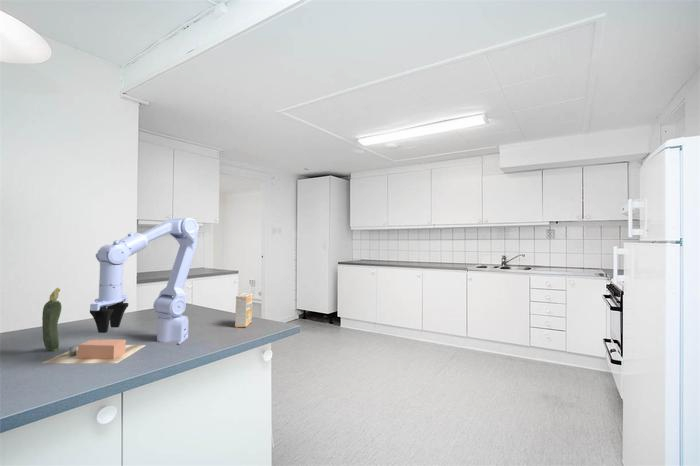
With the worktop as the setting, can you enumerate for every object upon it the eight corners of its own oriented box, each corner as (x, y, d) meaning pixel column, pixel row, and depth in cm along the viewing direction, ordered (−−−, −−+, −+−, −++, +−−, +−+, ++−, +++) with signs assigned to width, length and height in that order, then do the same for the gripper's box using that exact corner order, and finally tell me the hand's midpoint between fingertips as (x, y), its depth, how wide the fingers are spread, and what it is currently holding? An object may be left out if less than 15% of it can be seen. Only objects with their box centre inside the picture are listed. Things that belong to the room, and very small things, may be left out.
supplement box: (246, 328, 138) (247, 296, 138) (234, 327, 138) (235, 295, 138) (252, 323, 146) (253, 293, 146) (241, 322, 146) (242, 292, 146)
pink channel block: (125, 352, 103) (125, 339, 103) (113, 359, 98) (114, 345, 98) (91, 352, 103) (92, 339, 103) (77, 358, 97) (78, 345, 97)
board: (146, 347, 111) (146, 337, 111) (116, 365, 95) (117, 354, 95) (82, 347, 109) (82, 337, 109) (41, 366, 93) (41, 354, 93)
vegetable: (43, 356, 101) (46, 289, 101) (38, 353, 103) (41, 288, 103) (61, 352, 104) (64, 288, 105) (56, 349, 107) (59, 286, 107)
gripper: (112, 281, 108) (110, 323, 107) (79, 287, 93) (77, 336, 93) (135, 281, 108) (133, 323, 108) (106, 288, 94) (104, 336, 94)
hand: (109, 329), depth 101 cm, fingers open, 5 cm apart
